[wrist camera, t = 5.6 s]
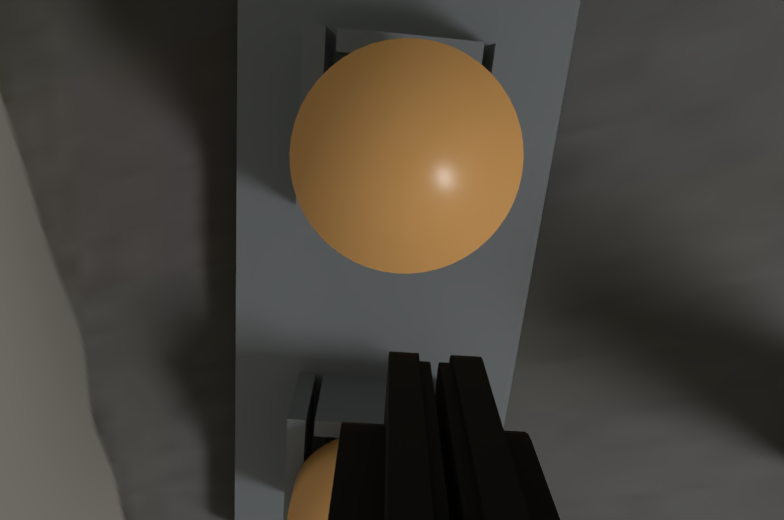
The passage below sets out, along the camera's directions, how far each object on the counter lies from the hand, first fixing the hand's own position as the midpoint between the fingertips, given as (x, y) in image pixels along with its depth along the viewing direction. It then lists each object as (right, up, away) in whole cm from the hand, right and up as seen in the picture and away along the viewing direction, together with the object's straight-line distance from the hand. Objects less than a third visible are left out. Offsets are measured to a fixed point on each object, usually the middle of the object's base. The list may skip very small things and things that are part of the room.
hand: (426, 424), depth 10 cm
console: (-1, +2, +19) cm, 19 cm away
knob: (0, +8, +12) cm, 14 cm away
